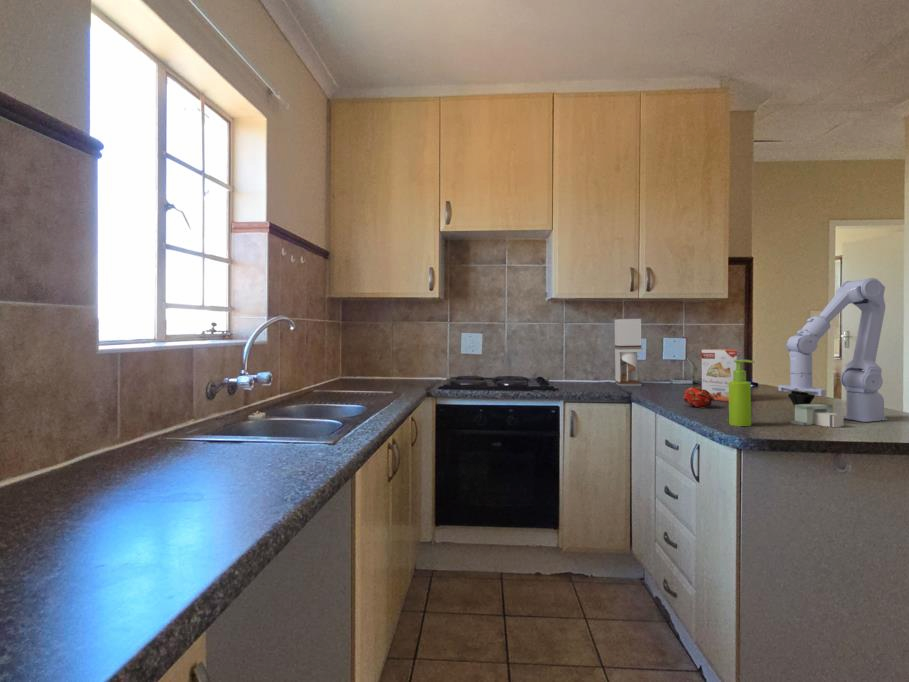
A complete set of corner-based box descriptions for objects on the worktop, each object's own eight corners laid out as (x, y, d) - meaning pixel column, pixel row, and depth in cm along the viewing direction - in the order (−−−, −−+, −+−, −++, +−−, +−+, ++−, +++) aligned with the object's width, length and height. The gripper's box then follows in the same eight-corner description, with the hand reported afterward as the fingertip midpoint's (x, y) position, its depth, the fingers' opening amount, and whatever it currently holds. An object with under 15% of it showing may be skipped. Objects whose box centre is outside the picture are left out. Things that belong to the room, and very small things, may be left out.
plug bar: (810, 420, 156) (810, 409, 156) (843, 426, 146) (843, 414, 146) (800, 421, 155) (800, 410, 154) (833, 427, 145) (833, 415, 145)
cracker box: (701, 399, 207) (700, 349, 206) (708, 397, 210) (707, 348, 210) (737, 402, 196) (736, 349, 195) (743, 401, 199) (743, 349, 199)
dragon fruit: (683, 408, 193) (712, 417, 183) (673, 397, 189) (702, 406, 179) (693, 390, 195) (723, 398, 184) (684, 379, 191) (713, 386, 180)
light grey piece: (619, 386, 259) (618, 319, 258) (615, 383, 270) (614, 319, 269) (641, 386, 258) (641, 318, 257) (637, 383, 268) (636, 319, 267)
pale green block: (823, 420, 156) (823, 402, 156) (836, 422, 152) (836, 404, 152) (790, 423, 153) (790, 405, 153) (803, 425, 149) (802, 407, 149)
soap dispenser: (755, 427, 147) (754, 360, 147) (728, 425, 151) (727, 360, 151) (755, 424, 152) (754, 359, 152) (729, 422, 156) (729, 359, 156)
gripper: (770, 372, 162) (771, 413, 162) (813, 375, 148) (813, 421, 148) (787, 371, 164) (788, 412, 164) (831, 374, 150) (831, 419, 150)
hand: (801, 416), depth 156 cm, fingers closed
